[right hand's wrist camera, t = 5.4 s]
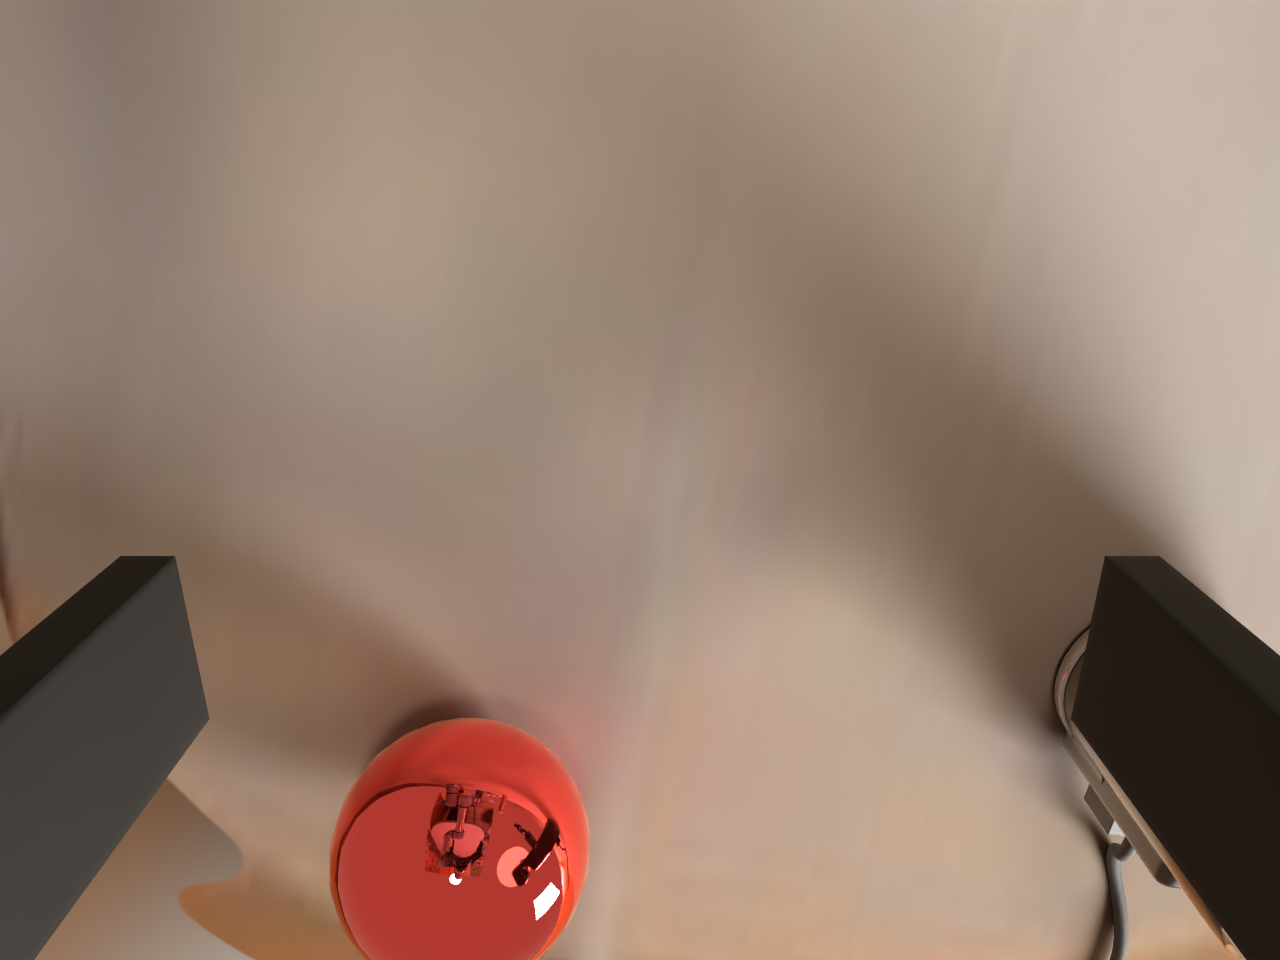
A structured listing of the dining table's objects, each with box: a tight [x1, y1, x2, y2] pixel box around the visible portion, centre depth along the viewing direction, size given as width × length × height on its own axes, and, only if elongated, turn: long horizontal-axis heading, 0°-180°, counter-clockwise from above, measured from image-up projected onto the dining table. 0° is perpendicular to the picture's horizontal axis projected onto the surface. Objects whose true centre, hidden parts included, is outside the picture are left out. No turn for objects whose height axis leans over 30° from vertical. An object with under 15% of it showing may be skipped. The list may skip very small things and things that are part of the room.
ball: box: [329, 717, 589, 960], centre depth 42 cm, size 12×12×12 cm
